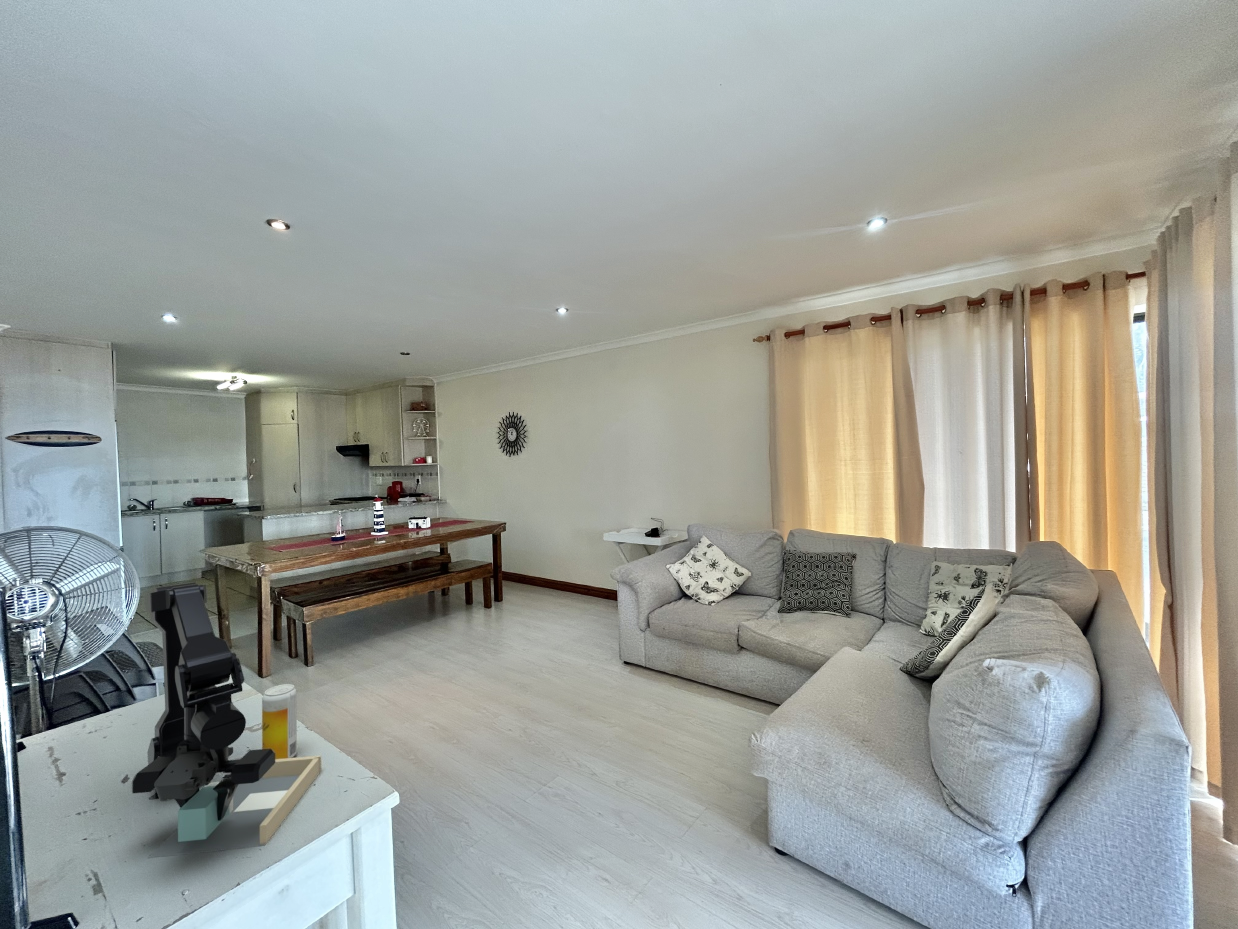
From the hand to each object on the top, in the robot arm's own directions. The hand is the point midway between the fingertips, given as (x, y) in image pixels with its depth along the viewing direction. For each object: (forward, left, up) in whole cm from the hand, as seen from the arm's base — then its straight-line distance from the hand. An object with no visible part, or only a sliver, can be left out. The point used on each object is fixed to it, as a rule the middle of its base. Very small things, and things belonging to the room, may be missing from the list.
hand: (206, 820), depth 84 cm
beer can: (0, +23, -3) cm, 23 cm away
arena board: (+2, +6, -3) cm, 7 cm away
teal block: (0, 0, -1) cm, 1 cm away
